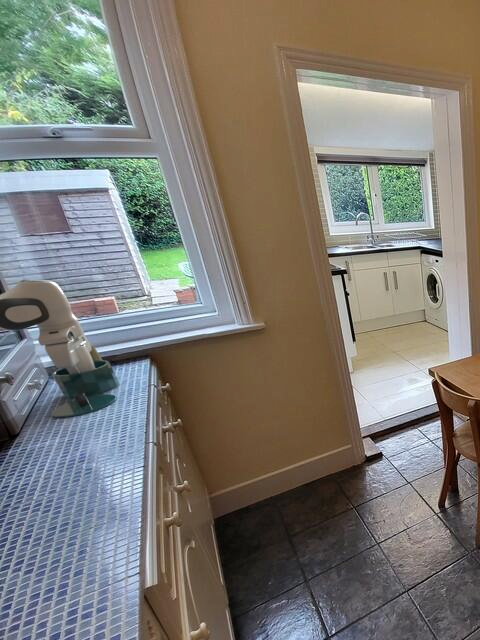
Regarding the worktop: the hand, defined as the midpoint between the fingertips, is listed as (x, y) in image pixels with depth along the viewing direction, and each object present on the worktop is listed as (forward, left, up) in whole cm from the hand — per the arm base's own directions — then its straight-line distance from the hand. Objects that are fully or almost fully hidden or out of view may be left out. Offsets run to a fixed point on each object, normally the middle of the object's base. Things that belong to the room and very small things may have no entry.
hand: (83, 372), depth 134 cm
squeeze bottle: (-3, +16, -7) cm, 18 cm away
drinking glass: (0, 0, -6) cm, 7 cm away
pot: (0, 0, -7) cm, 7 cm away
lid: (+2, -16, -6) cm, 17 cm away
